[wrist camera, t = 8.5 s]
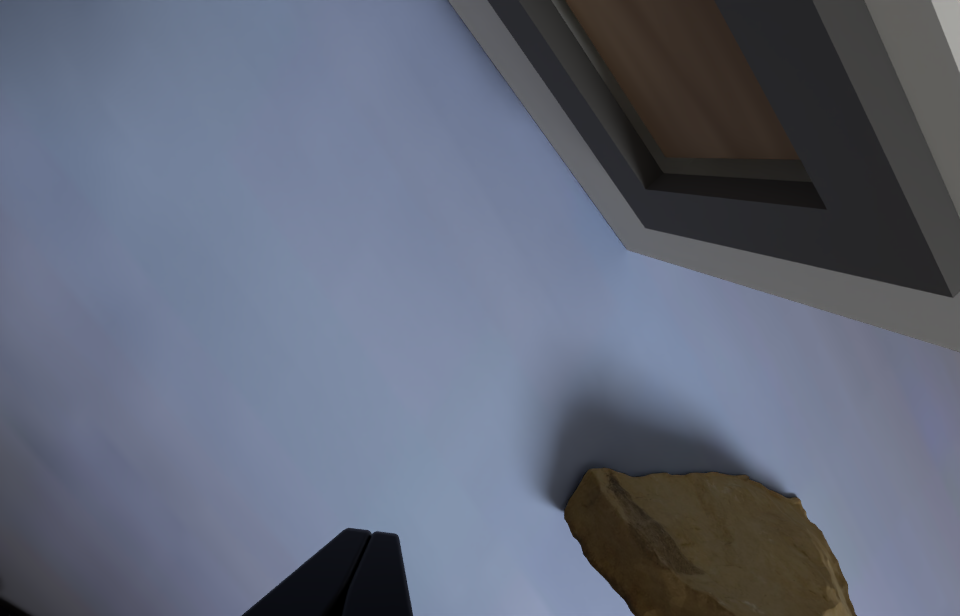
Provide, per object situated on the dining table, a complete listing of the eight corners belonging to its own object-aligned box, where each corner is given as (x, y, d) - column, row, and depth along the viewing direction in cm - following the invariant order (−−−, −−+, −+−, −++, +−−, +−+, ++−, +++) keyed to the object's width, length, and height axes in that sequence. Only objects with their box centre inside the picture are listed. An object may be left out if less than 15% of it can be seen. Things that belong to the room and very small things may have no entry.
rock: (504, 585, 21) (668, 752, 23) (731, 606, 14) (927, 834, 17) (614, 372, 28) (732, 517, 30) (802, 322, 21) (934, 511, 23)
